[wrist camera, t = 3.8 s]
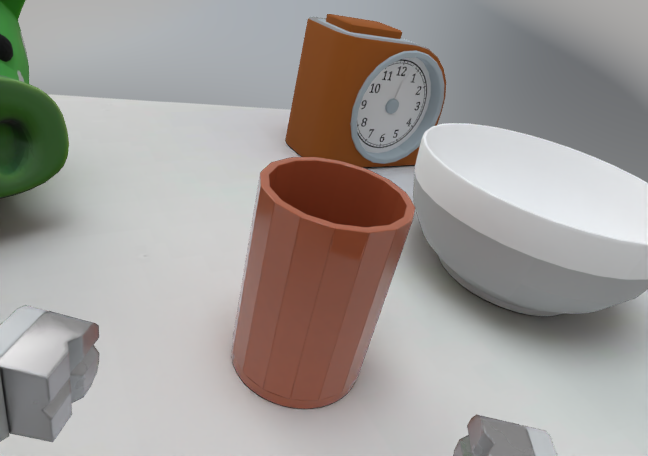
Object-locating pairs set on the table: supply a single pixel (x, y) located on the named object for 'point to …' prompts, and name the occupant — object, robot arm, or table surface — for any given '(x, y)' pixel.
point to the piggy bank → (25, 115)
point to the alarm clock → (363, 93)
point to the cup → (315, 277)
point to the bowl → (531, 220)
